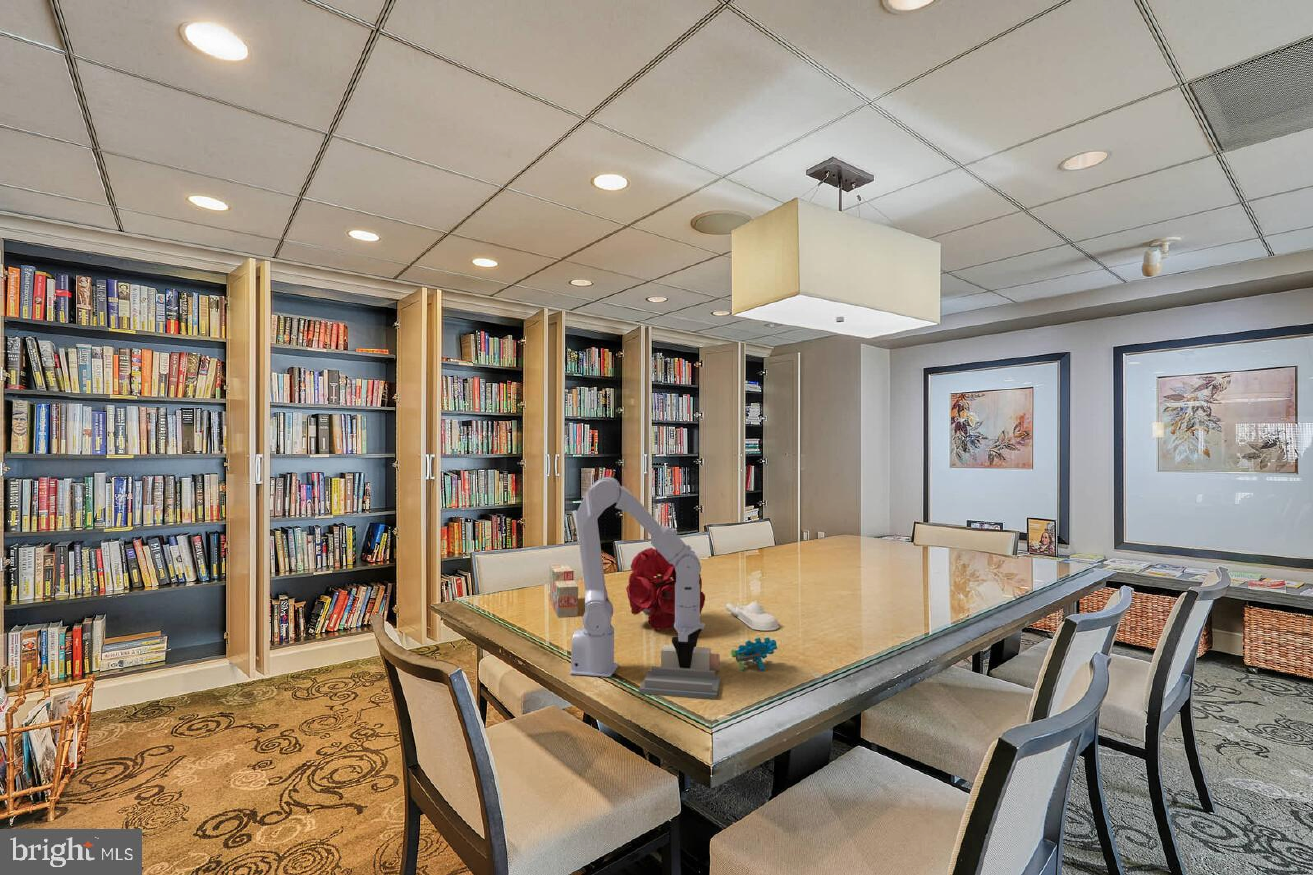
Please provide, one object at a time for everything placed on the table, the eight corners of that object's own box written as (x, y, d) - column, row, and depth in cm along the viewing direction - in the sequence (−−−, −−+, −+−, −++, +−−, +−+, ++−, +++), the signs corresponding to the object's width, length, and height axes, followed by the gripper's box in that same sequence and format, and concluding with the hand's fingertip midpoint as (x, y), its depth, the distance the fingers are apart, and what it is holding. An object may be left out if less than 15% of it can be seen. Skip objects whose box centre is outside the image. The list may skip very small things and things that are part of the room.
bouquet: (613, 643, 177) (640, 615, 153) (610, 566, 189) (634, 529, 165) (682, 641, 183) (718, 614, 159) (674, 567, 195) (707, 532, 171)
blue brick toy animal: (773, 652, 144) (778, 631, 137) (781, 675, 140) (786, 656, 133) (729, 659, 143) (731, 639, 136) (735, 683, 139) (737, 664, 132)
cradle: (639, 693, 123) (639, 681, 123) (648, 675, 133) (648, 664, 133) (716, 699, 120) (716, 687, 120) (720, 681, 130) (720, 669, 130)
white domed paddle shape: (752, 634, 165) (752, 612, 165) (725, 615, 184) (725, 596, 184) (786, 631, 167) (786, 610, 168) (756, 612, 187) (756, 594, 187)
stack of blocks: (578, 616, 181) (578, 576, 182) (557, 618, 180) (558, 577, 180) (567, 600, 202) (568, 563, 202) (549, 601, 200) (549, 564, 200)
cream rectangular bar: (661, 672, 135) (661, 650, 135) (664, 666, 139) (664, 644, 139) (718, 676, 133) (718, 654, 133) (719, 670, 137) (719, 648, 137)
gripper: (701, 613, 129) (701, 676, 128) (707, 597, 143) (707, 654, 143) (668, 611, 130) (668, 674, 130) (678, 596, 144) (678, 652, 144)
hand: (687, 664), depth 136 cm, fingers open, 7 cm apart
